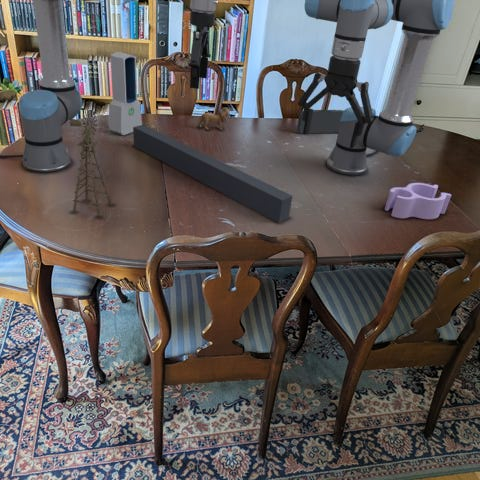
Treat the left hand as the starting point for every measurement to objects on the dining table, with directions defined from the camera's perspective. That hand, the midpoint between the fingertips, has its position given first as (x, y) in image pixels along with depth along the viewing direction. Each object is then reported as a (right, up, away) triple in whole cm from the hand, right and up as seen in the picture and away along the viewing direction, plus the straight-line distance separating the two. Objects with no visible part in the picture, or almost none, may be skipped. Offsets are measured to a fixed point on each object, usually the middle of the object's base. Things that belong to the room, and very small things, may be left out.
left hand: (198, 82), depth 152 cm
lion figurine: (+2, -2, +52) cm, 52 cm away
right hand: (+37, -24, -26) cm, 52 cm away
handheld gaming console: (+50, -2, +60) cm, 78 cm away
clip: (+71, -42, +3) cm, 83 cm away
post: (+1, -30, +10) cm, 31 cm away
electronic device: (-34, -6, +41) cm, 53 cm away
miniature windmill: (-30, -42, -15) cm, 54 cm away
